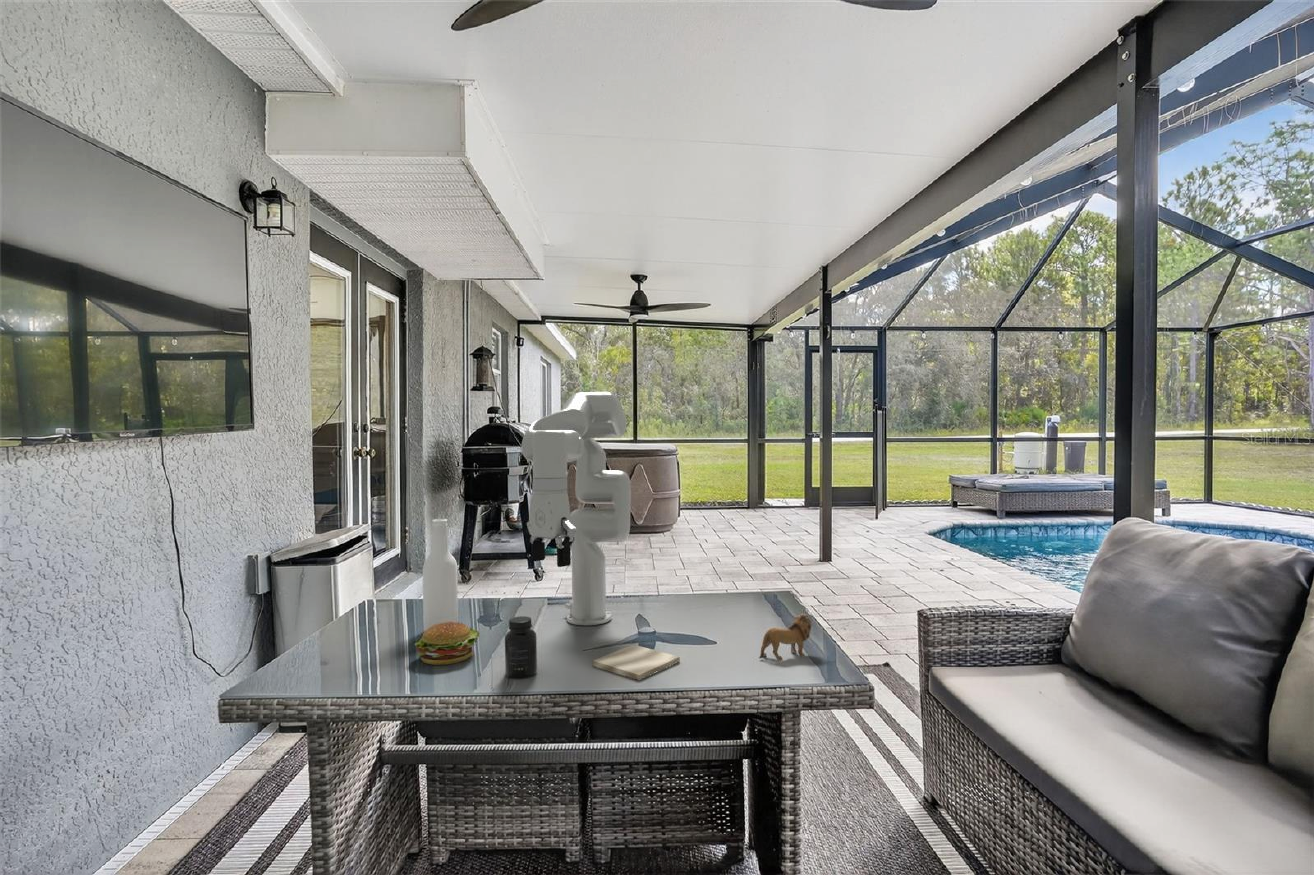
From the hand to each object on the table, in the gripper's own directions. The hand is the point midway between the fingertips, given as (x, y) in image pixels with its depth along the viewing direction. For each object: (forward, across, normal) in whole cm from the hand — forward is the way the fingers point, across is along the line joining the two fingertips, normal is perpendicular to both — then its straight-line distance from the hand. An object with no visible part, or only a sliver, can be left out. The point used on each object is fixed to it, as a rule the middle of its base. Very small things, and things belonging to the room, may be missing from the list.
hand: (550, 563), depth 141 cm
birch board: (+24, +10, +16) cm, 30 cm away
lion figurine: (+24, +31, +45) cm, 59 cm away
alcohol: (+24, -46, -4) cm, 52 cm away
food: (+24, -25, -12) cm, 37 cm away
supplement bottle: (+24, -4, -5) cm, 25 cm away
